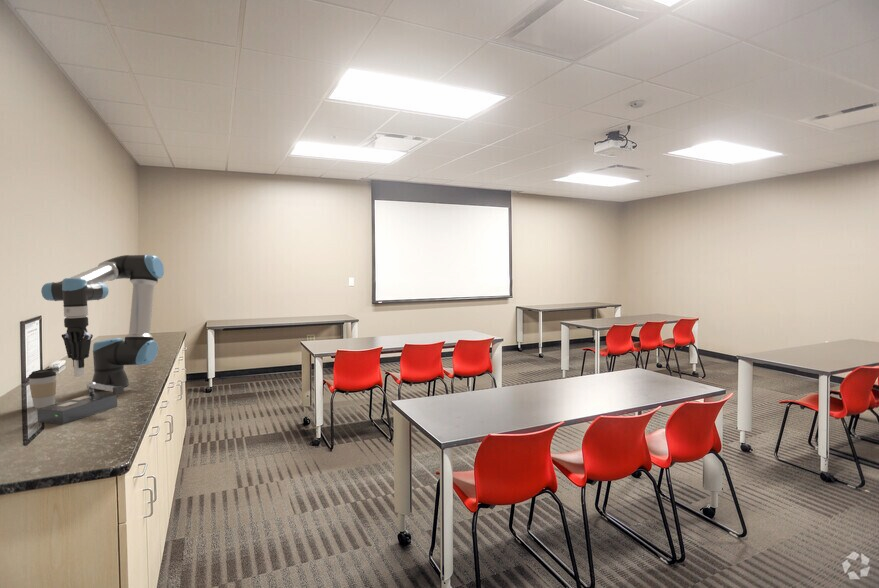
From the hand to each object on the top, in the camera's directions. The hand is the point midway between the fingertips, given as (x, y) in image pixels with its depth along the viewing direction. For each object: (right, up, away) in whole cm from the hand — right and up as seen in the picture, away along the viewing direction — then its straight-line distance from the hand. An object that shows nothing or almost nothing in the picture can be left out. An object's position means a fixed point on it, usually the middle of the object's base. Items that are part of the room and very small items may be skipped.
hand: (79, 375), depth 184 cm
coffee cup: (-22, -14, +10) cm, 28 cm away
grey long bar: (+8, -6, +3) cm, 10 cm away
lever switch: (+2, -15, -2) cm, 15 cm away
